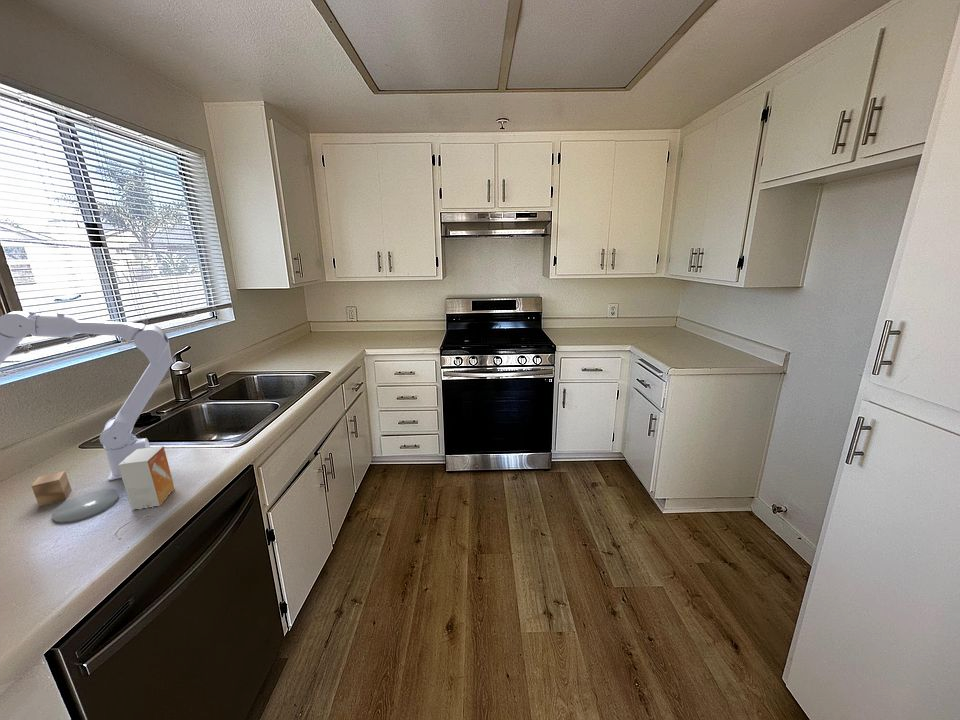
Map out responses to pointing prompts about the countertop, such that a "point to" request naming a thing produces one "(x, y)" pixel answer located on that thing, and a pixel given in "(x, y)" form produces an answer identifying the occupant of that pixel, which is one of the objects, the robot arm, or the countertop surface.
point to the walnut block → (51, 488)
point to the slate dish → (85, 505)
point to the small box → (146, 477)
